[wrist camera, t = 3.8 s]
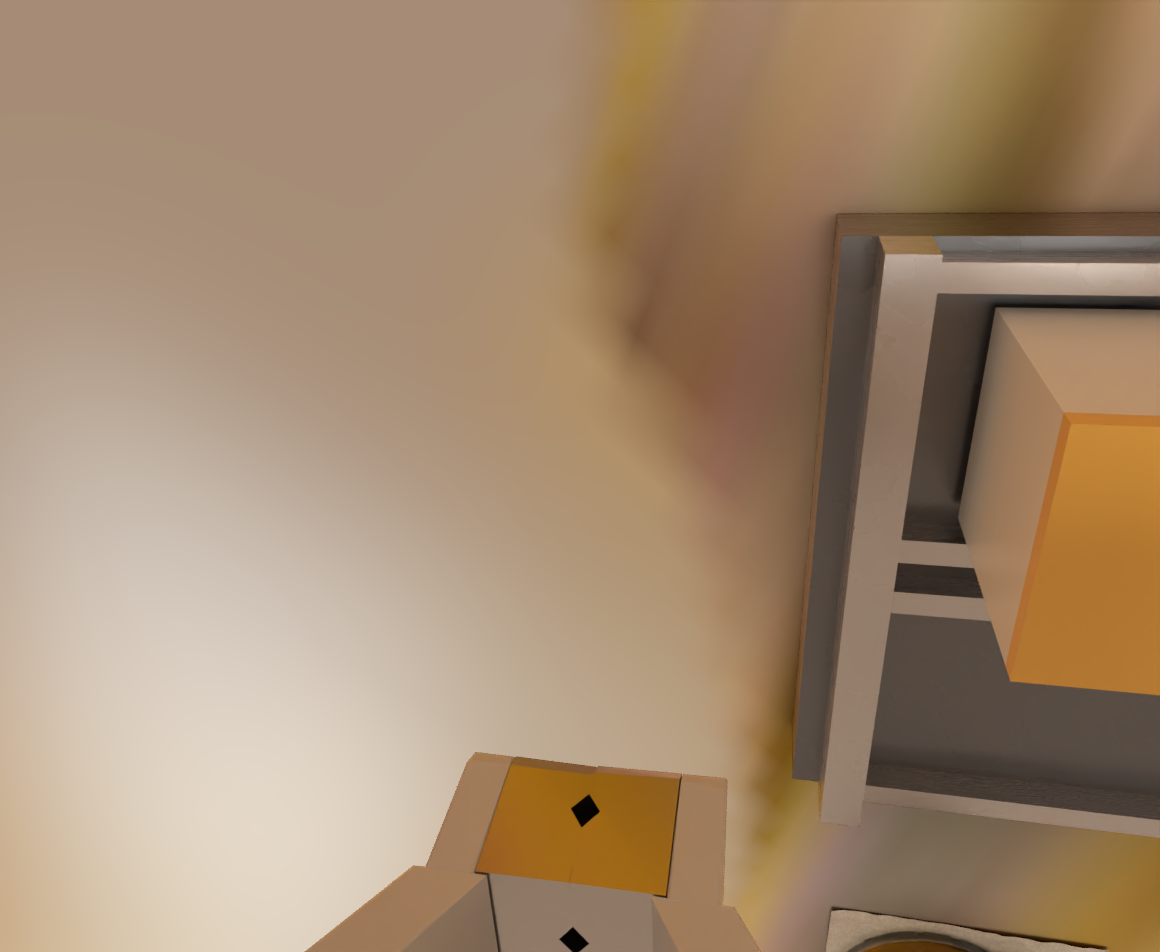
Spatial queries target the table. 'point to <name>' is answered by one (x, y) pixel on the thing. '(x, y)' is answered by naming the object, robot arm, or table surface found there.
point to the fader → (1070, 496)
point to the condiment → (922, 937)
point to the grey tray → (947, 535)
